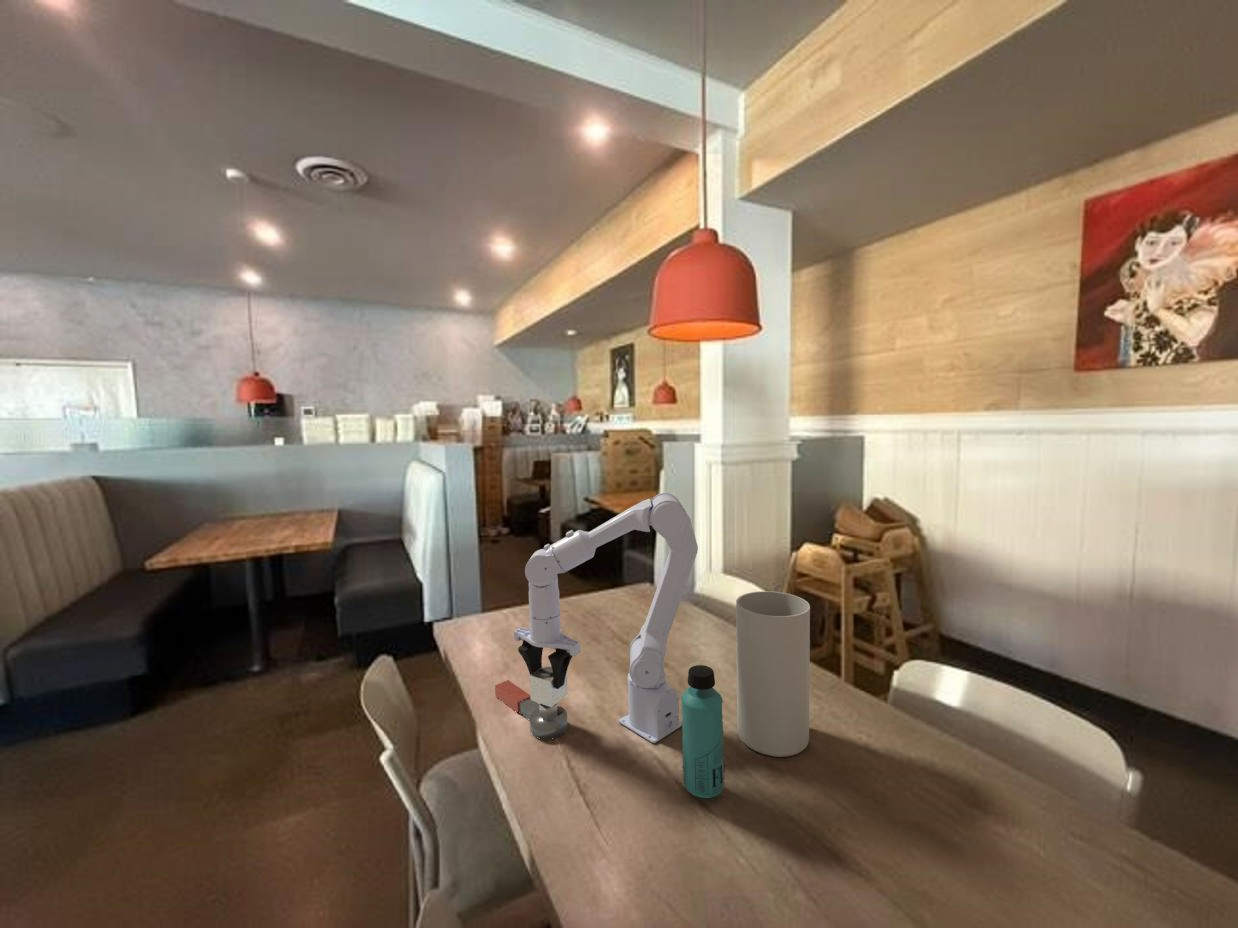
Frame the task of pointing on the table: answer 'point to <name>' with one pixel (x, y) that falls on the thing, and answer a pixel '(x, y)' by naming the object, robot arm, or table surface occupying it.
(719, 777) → the beverage bottle
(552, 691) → the cube block
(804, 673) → the cylinder vase
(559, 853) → the table surface
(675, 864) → the table surface
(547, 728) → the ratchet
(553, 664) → the robot arm
